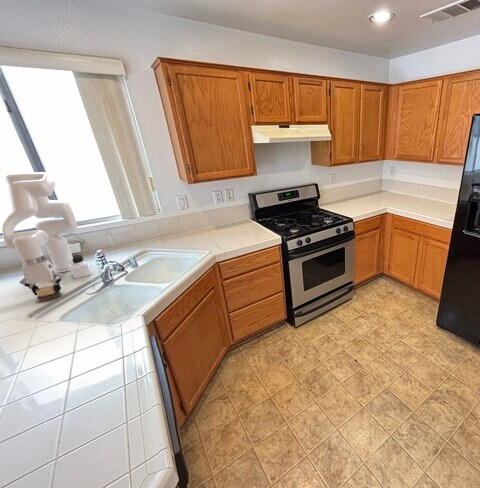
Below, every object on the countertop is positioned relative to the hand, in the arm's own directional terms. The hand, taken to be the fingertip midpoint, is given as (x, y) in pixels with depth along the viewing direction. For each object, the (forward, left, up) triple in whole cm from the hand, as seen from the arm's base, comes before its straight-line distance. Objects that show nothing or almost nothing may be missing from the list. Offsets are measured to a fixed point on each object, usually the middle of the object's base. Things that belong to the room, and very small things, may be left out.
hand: (48, 292), depth 131 cm
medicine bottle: (-25, +4, -3) cm, 25 cm away
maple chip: (0, 0, 0) cm, 0 cm away
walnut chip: (0, 0, -3) cm, 3 cm away
